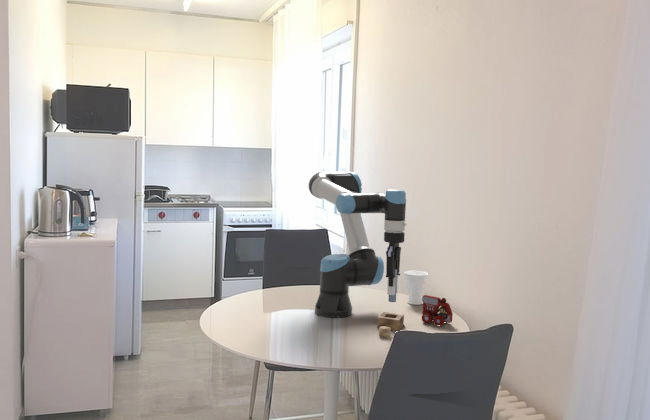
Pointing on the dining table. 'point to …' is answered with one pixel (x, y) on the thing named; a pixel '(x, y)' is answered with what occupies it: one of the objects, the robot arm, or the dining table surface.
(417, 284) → the cup
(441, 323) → the toy fire truck
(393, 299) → the blue rectangular block
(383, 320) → the wooden block with hole
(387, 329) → the loose oak bead
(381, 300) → the dining table surface
